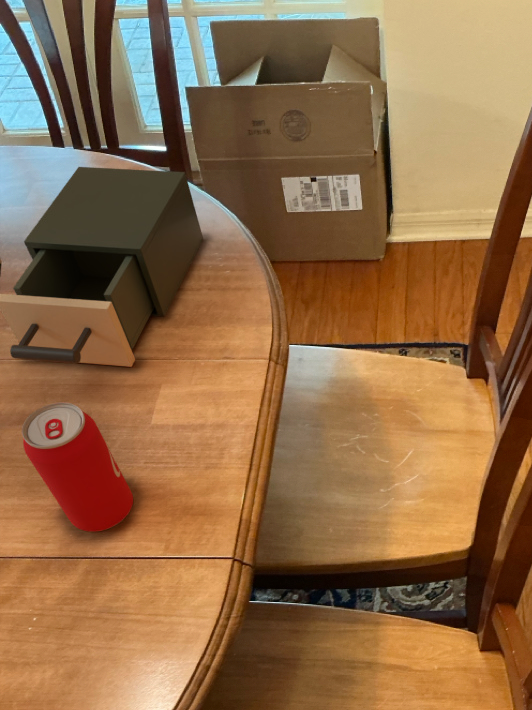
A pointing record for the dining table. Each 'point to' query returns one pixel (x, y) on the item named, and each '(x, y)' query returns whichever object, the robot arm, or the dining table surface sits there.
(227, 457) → the dining table surface
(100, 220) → the cabinet
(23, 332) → the drawer
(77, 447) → the beverage can
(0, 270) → the robot arm
